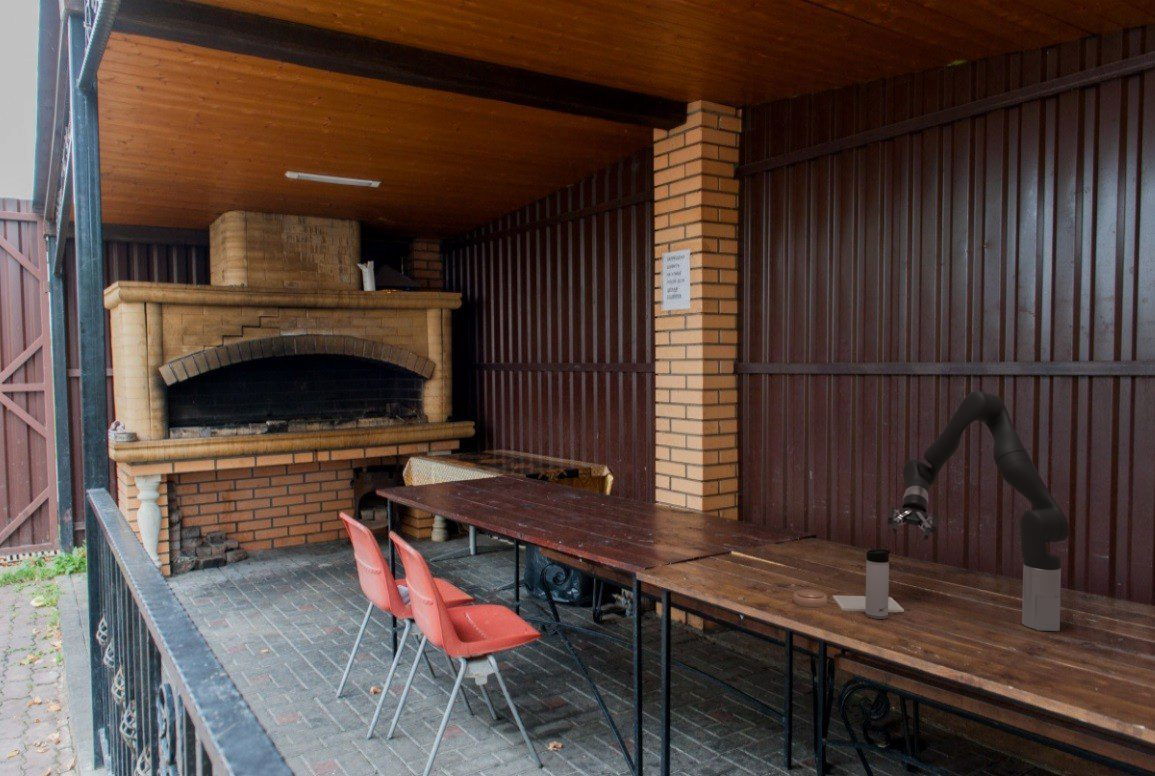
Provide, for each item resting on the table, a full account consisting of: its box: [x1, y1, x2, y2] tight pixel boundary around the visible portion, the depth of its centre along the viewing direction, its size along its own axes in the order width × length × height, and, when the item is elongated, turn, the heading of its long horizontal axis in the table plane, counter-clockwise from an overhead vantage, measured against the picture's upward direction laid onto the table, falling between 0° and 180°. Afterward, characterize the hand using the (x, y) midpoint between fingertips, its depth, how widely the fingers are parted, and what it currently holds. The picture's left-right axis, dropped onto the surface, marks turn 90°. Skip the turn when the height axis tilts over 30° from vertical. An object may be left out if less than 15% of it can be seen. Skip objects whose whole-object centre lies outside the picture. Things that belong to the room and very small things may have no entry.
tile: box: [832, 595, 905, 613], centre depth 248 cm, size 13×18×1 cm
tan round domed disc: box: [793, 588, 828, 608], centre depth 250 cm, size 10×10×3 cm
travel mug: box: [864, 548, 891, 620], centre depth 236 cm, size 6×7×20 cm
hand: (910, 534), depth 246 cm, fingers open, 8 cm apart
